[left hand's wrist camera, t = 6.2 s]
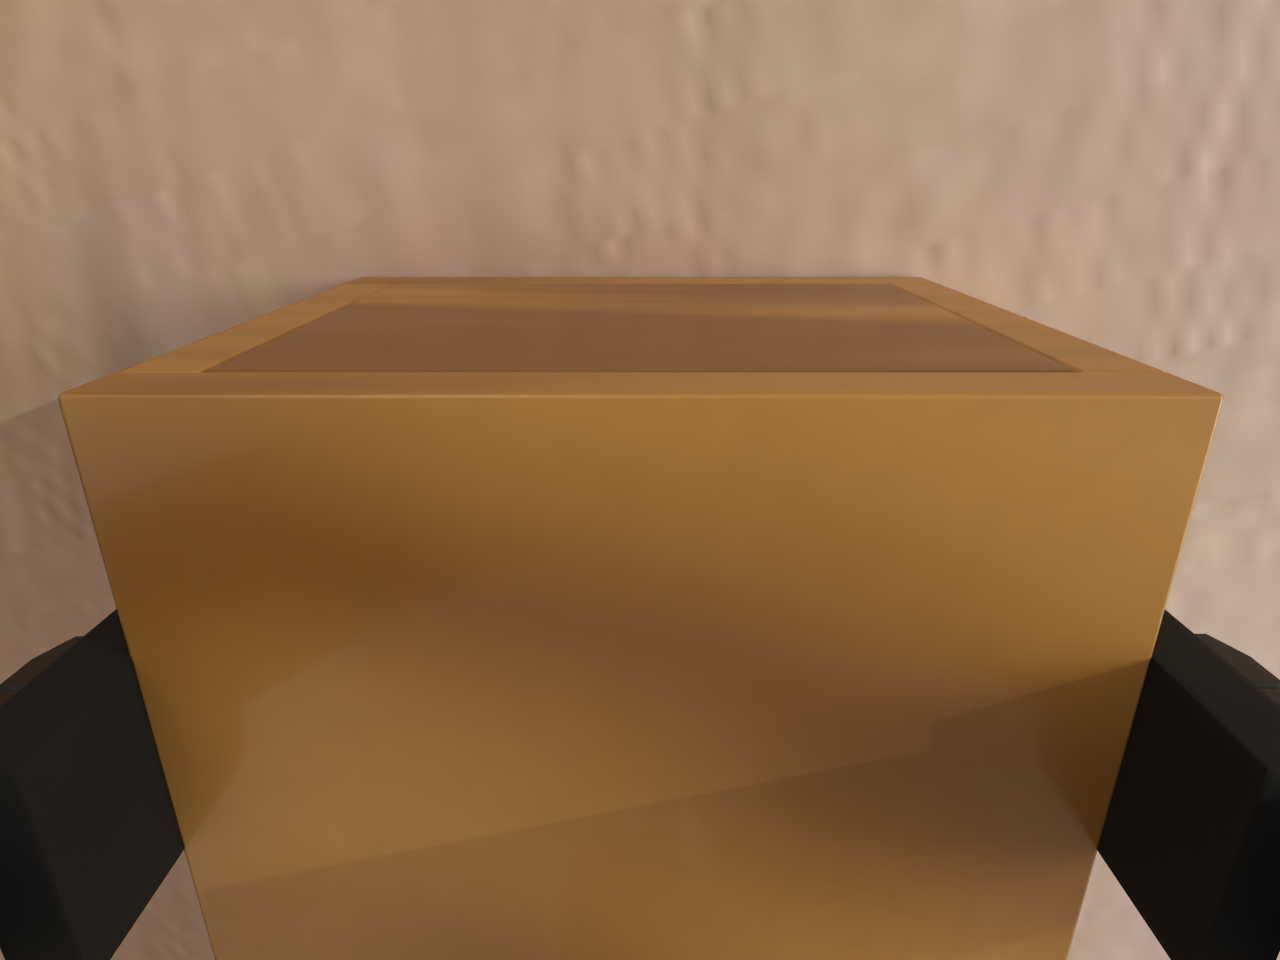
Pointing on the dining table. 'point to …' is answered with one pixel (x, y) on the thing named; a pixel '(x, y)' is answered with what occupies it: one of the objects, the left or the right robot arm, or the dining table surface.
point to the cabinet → (641, 614)
